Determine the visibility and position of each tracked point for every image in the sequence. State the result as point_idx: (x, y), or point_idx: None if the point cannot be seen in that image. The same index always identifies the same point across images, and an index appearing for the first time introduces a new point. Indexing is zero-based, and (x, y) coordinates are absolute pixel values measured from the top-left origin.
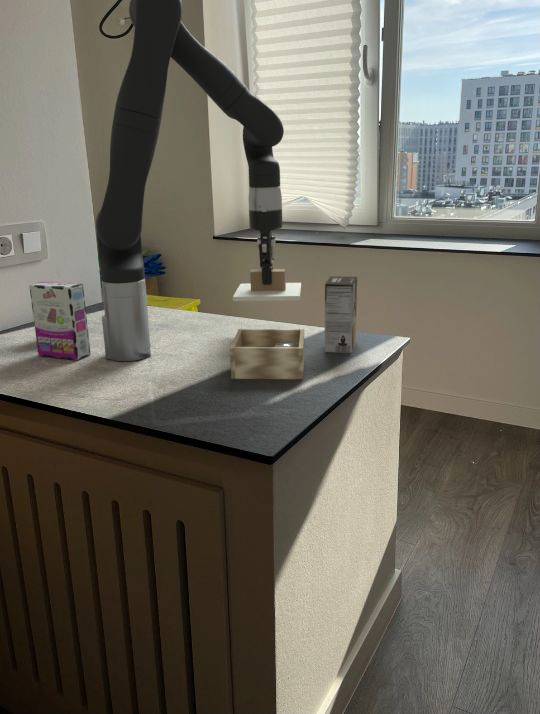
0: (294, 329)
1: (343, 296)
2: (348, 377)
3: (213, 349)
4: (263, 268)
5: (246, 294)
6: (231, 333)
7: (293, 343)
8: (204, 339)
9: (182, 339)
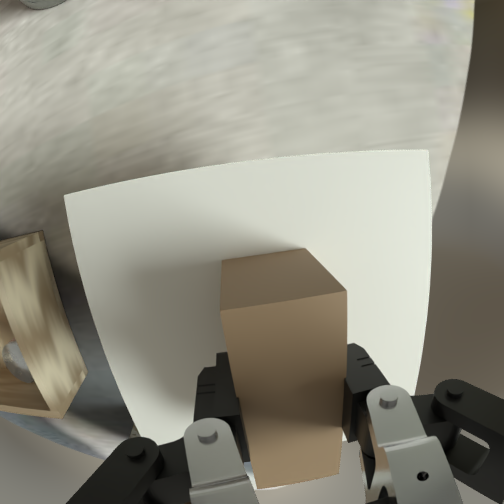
0: (49, 399)
1: None
2: (47, 428)
3: (114, 123)
4: (183, 438)
5: (128, 256)
6: (298, 126)
7: (33, 381)
8: (215, 61)
9: (208, 5)
